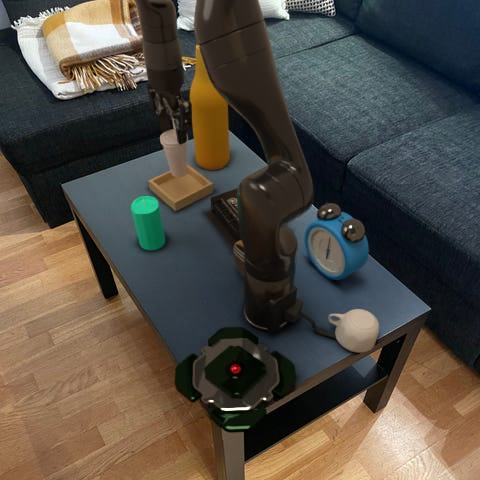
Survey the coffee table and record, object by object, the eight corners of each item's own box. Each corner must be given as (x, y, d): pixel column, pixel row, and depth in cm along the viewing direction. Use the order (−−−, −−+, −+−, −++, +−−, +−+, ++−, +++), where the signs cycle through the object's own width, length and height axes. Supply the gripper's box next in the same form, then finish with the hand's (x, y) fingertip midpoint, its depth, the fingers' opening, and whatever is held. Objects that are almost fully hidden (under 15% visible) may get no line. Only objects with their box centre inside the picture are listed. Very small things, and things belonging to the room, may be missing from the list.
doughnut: (231, 266, 104) (230, 231, 96) (245, 259, 105) (245, 225, 97) (255, 293, 99) (255, 259, 91) (269, 286, 100) (271, 252, 92)
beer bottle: (204, 174, 124) (194, 59, 101) (190, 156, 129) (177, 42, 107) (235, 164, 127) (233, 49, 104) (220, 147, 132) (214, 34, 109)
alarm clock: (300, 257, 105) (307, 203, 93) (321, 245, 107) (330, 191, 95) (342, 292, 99) (355, 239, 87) (363, 279, 101) (378, 225, 89)
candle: (151, 229, 112) (142, 186, 102) (170, 239, 109) (163, 196, 100) (134, 243, 109) (123, 201, 99) (153, 254, 106) (144, 211, 97)
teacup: (376, 342, 84) (367, 359, 88) (389, 314, 88) (380, 331, 93) (324, 318, 86) (318, 336, 91) (339, 292, 91) (333, 310, 95)
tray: (213, 192, 120) (212, 183, 118) (175, 211, 115) (174, 202, 113) (186, 171, 125) (185, 162, 123) (149, 189, 121) (148, 180, 119)
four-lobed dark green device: (232, 327, 94) (232, 312, 91) (304, 378, 86) (308, 364, 83) (165, 384, 85) (162, 369, 82) (239, 446, 78) (240, 433, 74)
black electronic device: (204, 212, 115) (198, 149, 101) (254, 195, 119) (255, 131, 105) (244, 264, 104) (243, 201, 91) (297, 242, 108) (304, 179, 94)
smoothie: (188, 181, 114) (181, 127, 103) (162, 179, 115) (152, 124, 104) (194, 166, 118) (188, 112, 107) (170, 164, 118) (161, 109, 107)
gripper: (128, 53, 97) (143, 129, 111) (168, 78, 90) (178, 156, 104) (159, 43, 100) (169, 118, 113) (199, 66, 93) (206, 143, 106)
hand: (174, 136), depth 108 cm, fingers closed on smoothie, 6 cm apart
